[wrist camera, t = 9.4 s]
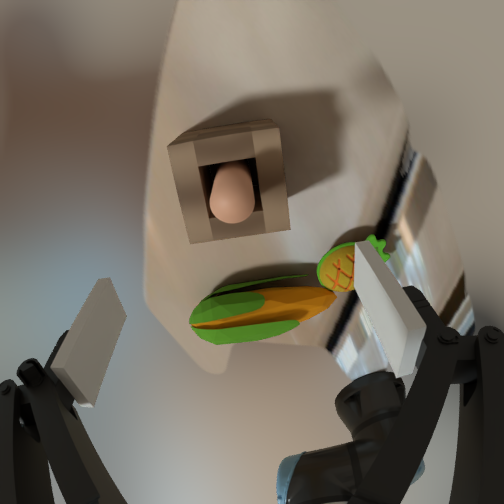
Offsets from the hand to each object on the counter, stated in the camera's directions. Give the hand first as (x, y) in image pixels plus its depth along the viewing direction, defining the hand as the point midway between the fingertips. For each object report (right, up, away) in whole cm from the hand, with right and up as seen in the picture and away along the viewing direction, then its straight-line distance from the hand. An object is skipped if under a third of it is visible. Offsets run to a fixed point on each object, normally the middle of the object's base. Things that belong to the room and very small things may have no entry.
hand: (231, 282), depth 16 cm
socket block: (-1, +11, +20) cm, 23 cm away
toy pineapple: (+14, +1, +26) cm, 30 cm away
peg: (-1, +11, +20) cm, 23 cm away
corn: (+2, -4, +29) cm, 29 cm away
